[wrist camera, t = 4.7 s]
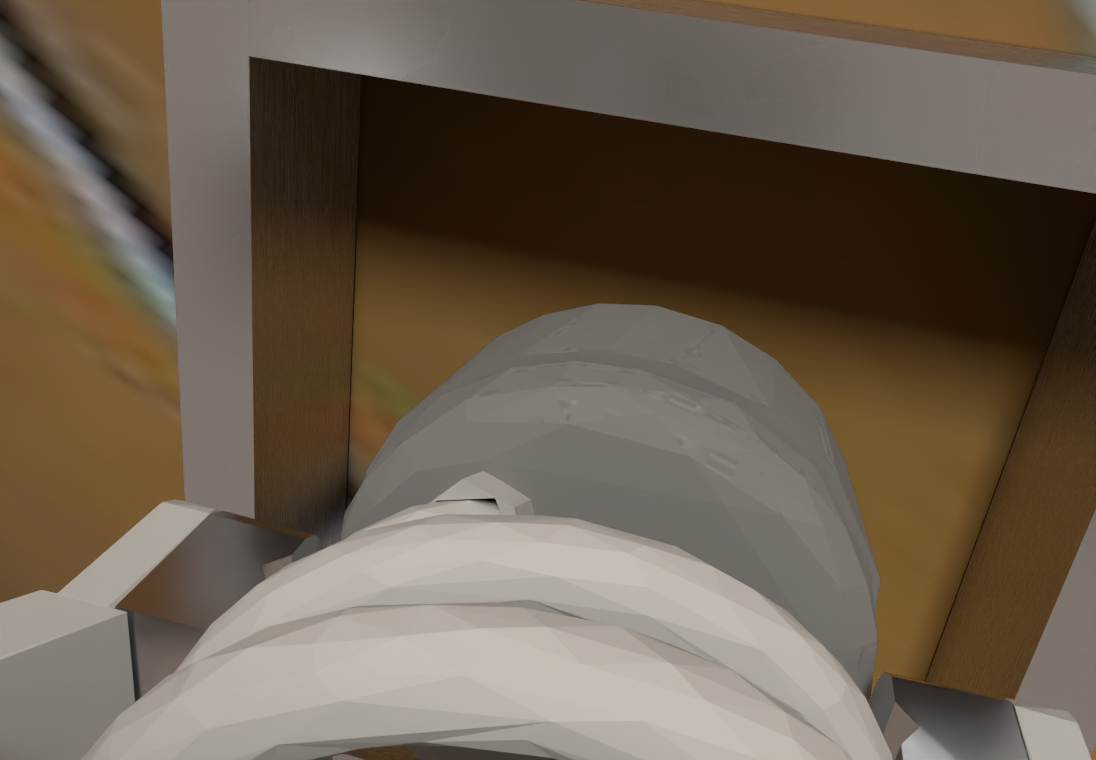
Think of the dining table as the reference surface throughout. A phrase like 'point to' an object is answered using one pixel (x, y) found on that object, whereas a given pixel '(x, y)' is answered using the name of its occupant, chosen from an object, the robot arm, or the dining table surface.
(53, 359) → the dining table surface
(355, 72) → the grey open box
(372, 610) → the light bulb
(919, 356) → the dining table surface
